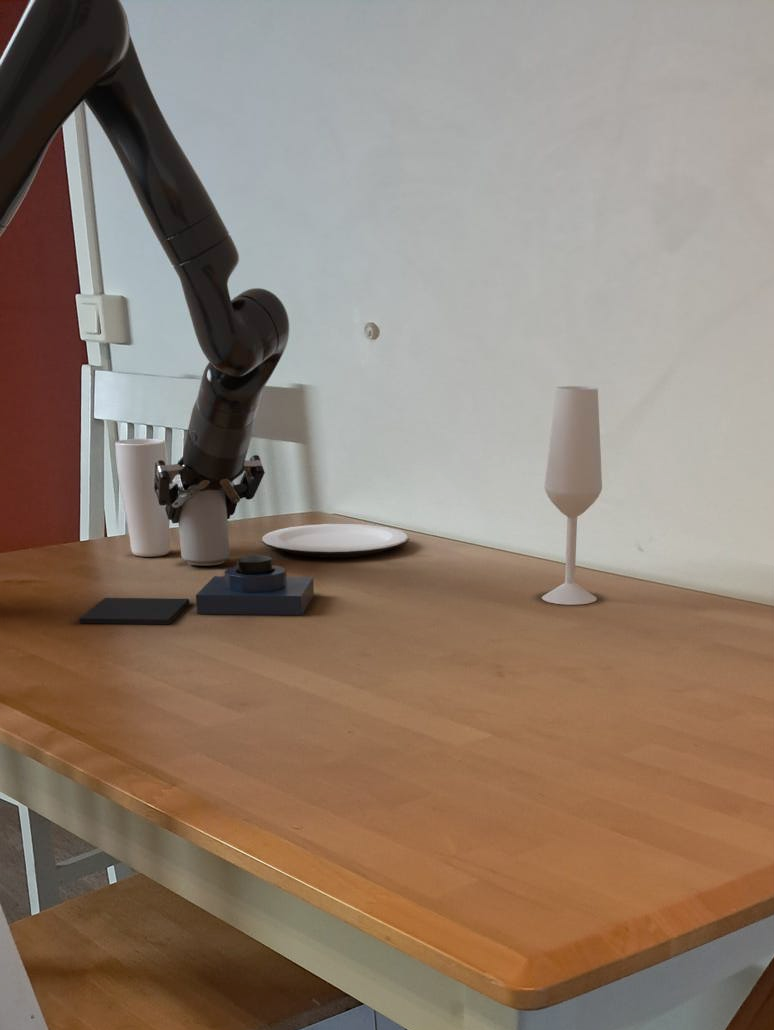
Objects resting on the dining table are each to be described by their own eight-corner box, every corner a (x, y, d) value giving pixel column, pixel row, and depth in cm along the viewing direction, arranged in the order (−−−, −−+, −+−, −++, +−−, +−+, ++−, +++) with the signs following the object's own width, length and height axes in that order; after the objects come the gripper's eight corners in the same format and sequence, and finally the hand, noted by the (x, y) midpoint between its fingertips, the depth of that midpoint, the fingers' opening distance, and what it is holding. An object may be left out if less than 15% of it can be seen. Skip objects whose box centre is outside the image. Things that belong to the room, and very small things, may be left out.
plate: (297, 568, 169) (296, 555, 168) (240, 542, 185) (239, 530, 184) (434, 553, 179) (434, 541, 178) (369, 530, 195) (369, 518, 194)
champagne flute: (536, 593, 156) (541, 385, 147) (588, 591, 158) (597, 385, 148) (548, 605, 150) (555, 390, 141) (603, 603, 152) (613, 390, 142)
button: (234, 577, 147) (233, 562, 146) (241, 570, 150) (240, 555, 150) (269, 577, 147) (268, 562, 146) (275, 570, 150) (274, 555, 150)
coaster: (79, 623, 141) (78, 618, 141) (105, 602, 150) (104, 597, 150) (169, 624, 141) (168, 619, 141) (189, 603, 150) (189, 598, 150)
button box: (197, 614, 146) (194, 579, 144) (215, 594, 155) (212, 561, 153) (301, 615, 145) (300, 580, 144) (313, 595, 154) (312, 562, 153)
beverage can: (191, 568, 167) (184, 473, 162) (175, 560, 172) (167, 468, 167) (237, 563, 170) (231, 470, 165) (219, 555, 175) (213, 465, 170)
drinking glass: (117, 553, 177) (104, 441, 171) (160, 547, 181) (149, 437, 175) (141, 561, 172) (129, 445, 166) (185, 554, 177) (175, 441, 170)
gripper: (267, 405, 160) (242, 489, 174) (154, 409, 153) (137, 496, 168) (284, 453, 158) (257, 535, 172) (170, 459, 151) (152, 543, 166)
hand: (198, 515), depth 170 cm, fingers closed on beverage can, 6 cm apart
